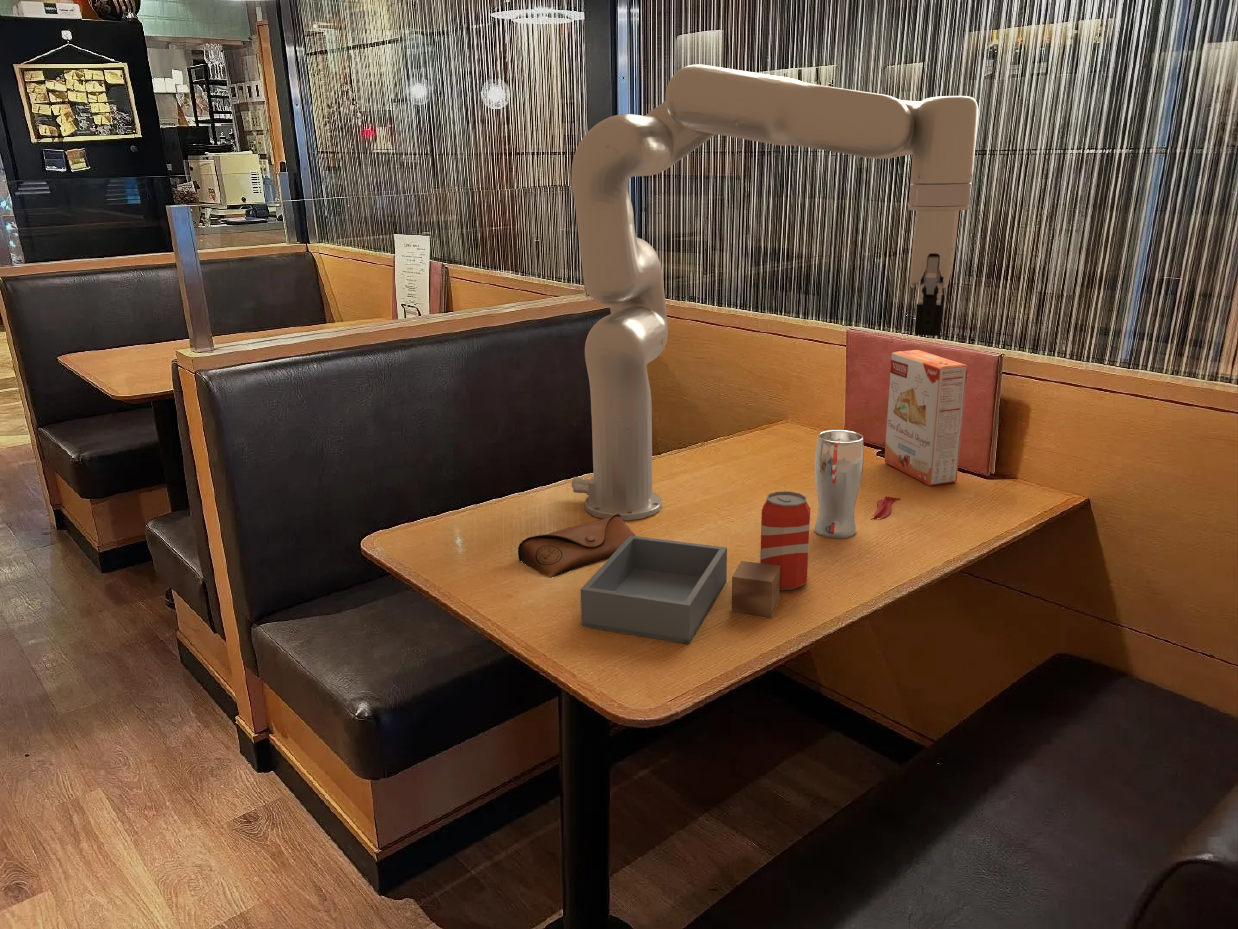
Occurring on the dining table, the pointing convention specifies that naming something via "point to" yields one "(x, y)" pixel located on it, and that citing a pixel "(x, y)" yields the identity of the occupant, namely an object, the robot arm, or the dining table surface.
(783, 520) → the beverage can
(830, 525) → the beer glass
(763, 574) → the walnut cube
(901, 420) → the cracker box
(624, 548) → the tote
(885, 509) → the cayenne pepper
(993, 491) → the dining table surface
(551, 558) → the sunglasses case
